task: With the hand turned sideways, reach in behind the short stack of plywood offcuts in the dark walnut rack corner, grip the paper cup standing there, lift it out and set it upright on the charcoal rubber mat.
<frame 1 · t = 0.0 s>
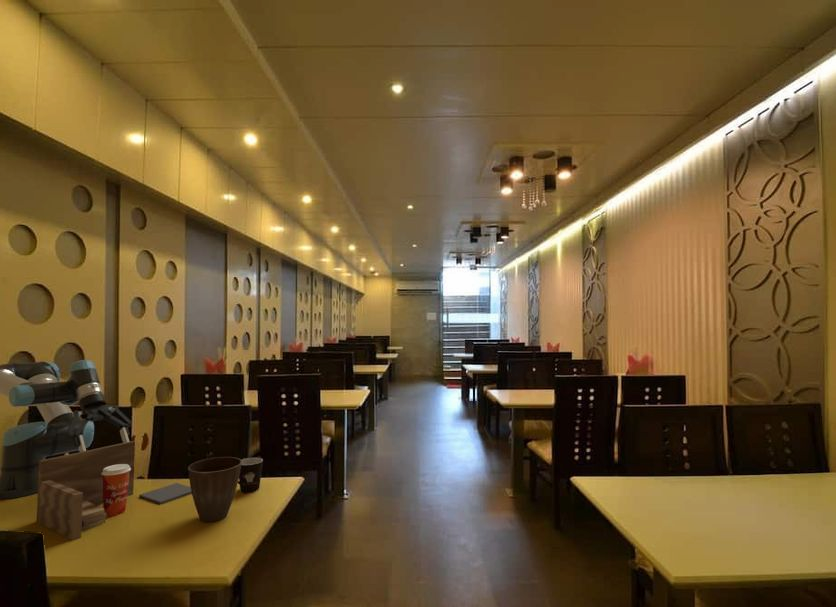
hand: (106, 449, 151), 15 cm above the table, tool tilted 35°, fingers open, 13 cm apart
plant pot: (214, 517, 129), on the table
walnut rack: (104, 513, 133), on the table
rubber mat: (169, 494, 148), on the table
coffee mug: (245, 490, 152), on the table
paper cup: (114, 513, 134), on the table
offcut stack: (83, 524, 126), on the table
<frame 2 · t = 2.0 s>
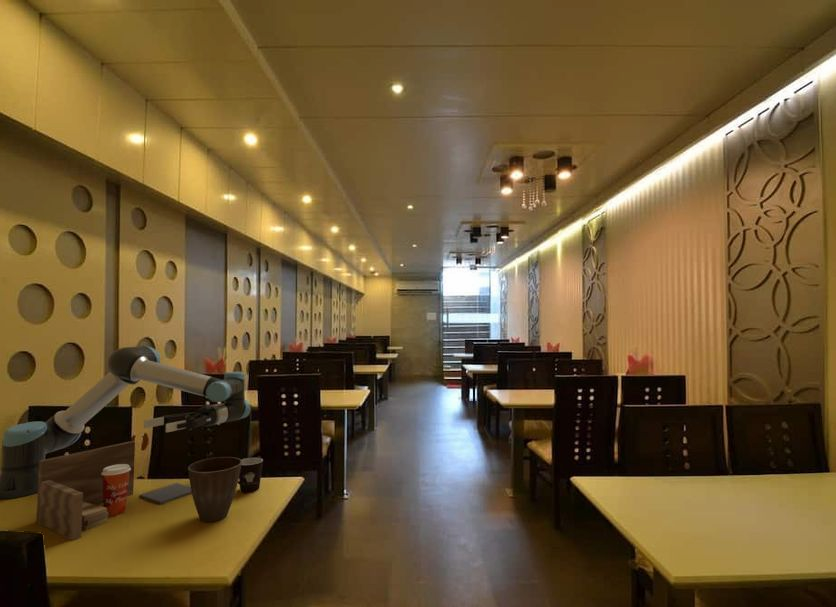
hand: (154, 426, 145), 25 cm above the table, tool horizontal, fingers open, 13 cm apart
nothing on the table moved.
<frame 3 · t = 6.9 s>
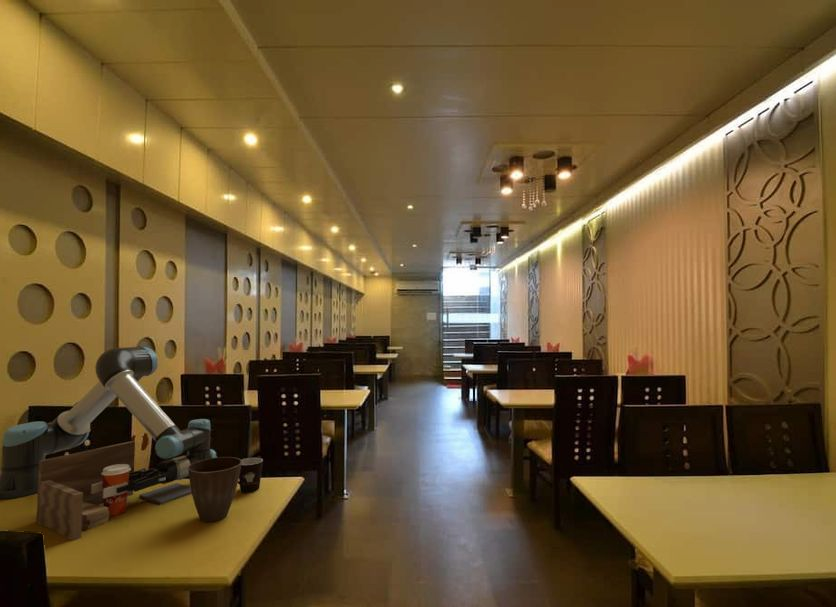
hand: (97, 491, 130), 8 cm above the table, tool horizontal, fingers closed on paper cup, 6 cm apart
paper cup: (115, 512, 134), on the table, touching gripper
everything else where it was.
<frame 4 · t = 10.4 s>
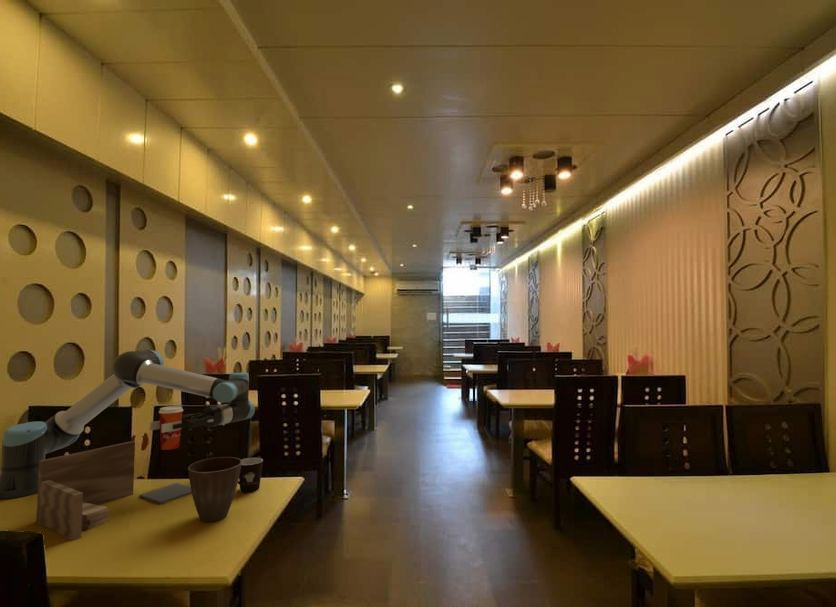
hand: (156, 427, 145), 24 cm above the table, tool horizontal, fingers closed on paper cup, 6 cm apart
paper cup: (170, 448, 149), point 16 cm above the table, touching gripper
everything else where it was.
when the fingers open (10 cm above the table, at t = 13.8 s): paper cup drops 1 cm, resting on rubber mat.
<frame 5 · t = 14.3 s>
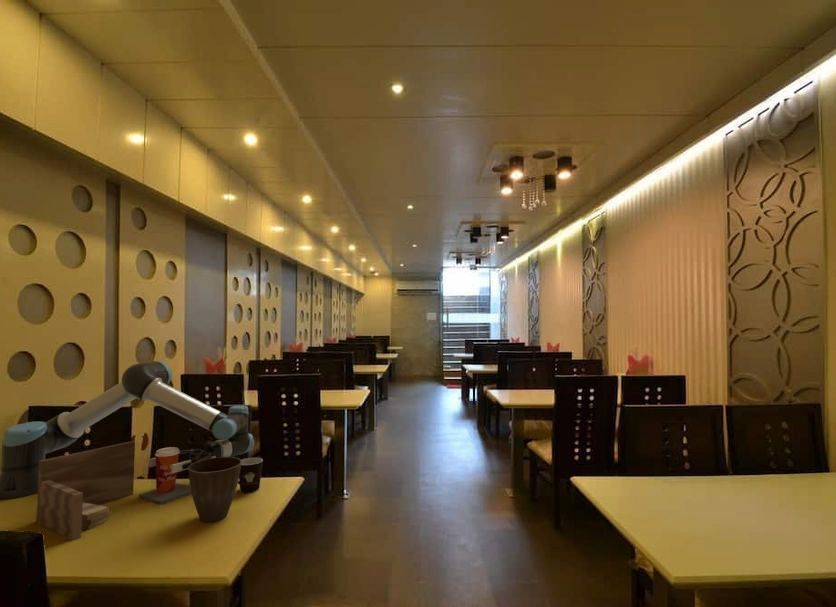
hand: (160, 466, 146), 10 cm above the table, tool horizontal, fingers open, 13 cm apart
paper cup: (165, 490, 150), point 1 cm above the table, touching gripper, rubber mat
everything else where it was.
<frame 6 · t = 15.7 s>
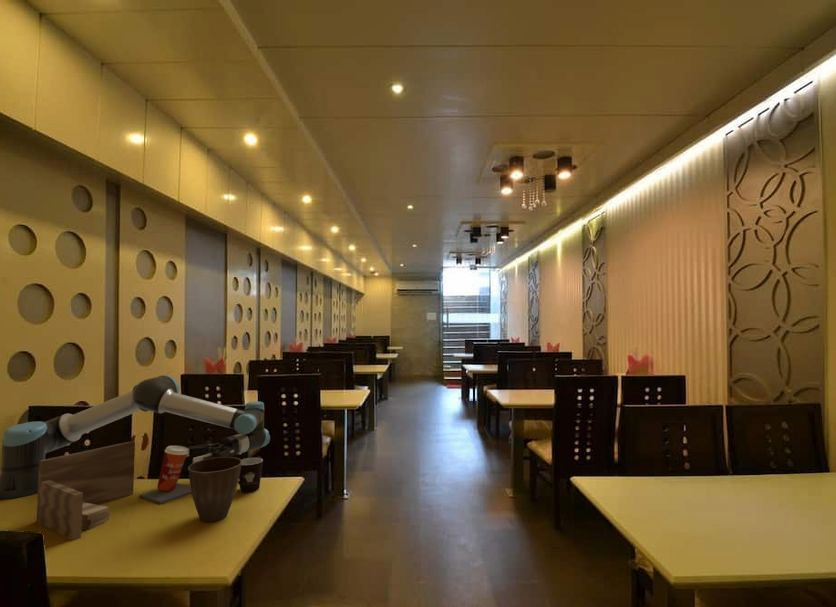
hand: (182, 459, 151), 11 cm above the table, tool horizontal, fingers open, 13 cm apart
paper cup: (166, 488, 150), point 1 cm above the table, touching rubber mat
everything else where it was.
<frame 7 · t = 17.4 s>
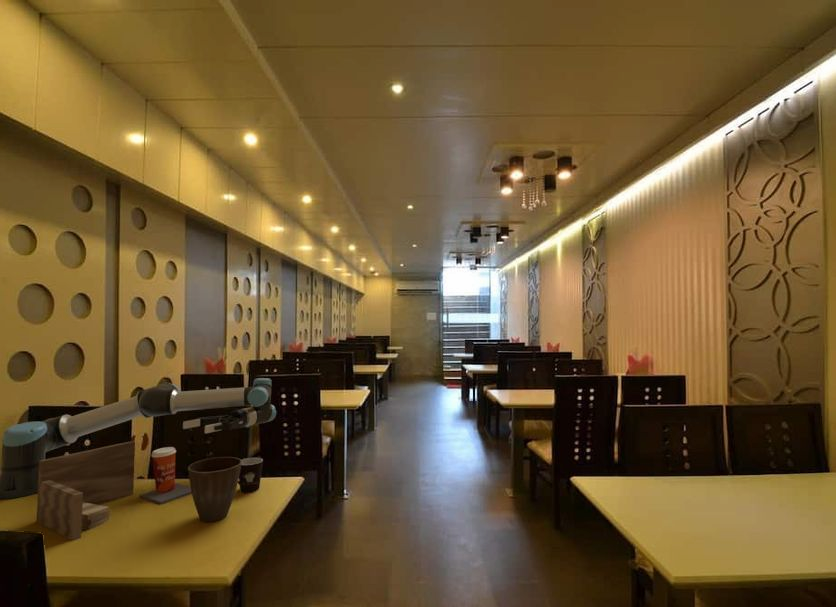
hand: (194, 427, 159), 21 cm above the table, tool horizontal, fingers open, 13 cm apart
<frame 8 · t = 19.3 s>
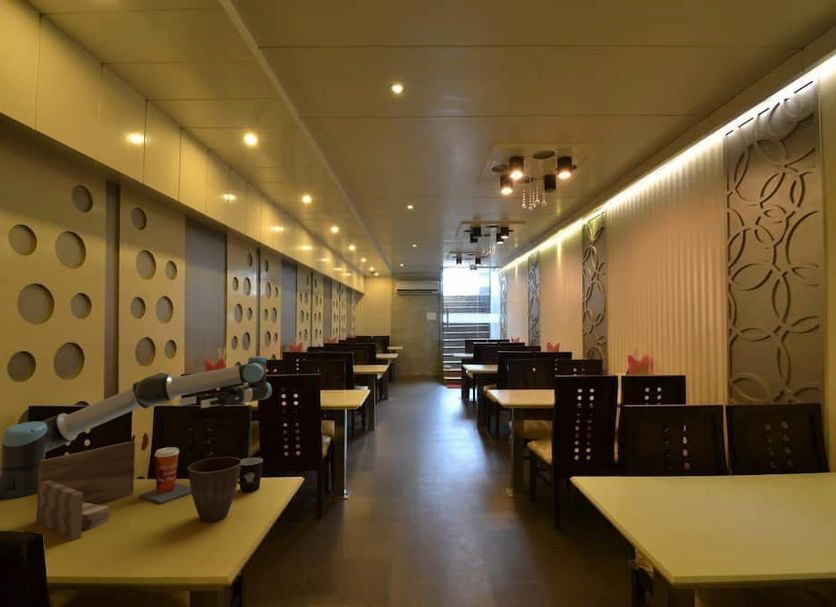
hand: (190, 403, 161), 30 cm above the table, tool horizontal, fingers open, 13 cm apart
at the end: paper cup inside the target area on the rubber mat (2.8 cm from its centre), point 0.7 cm above the rubber mat's base; paper cup tilted 2°; offcut stack moved 0.4 cm from its start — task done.
